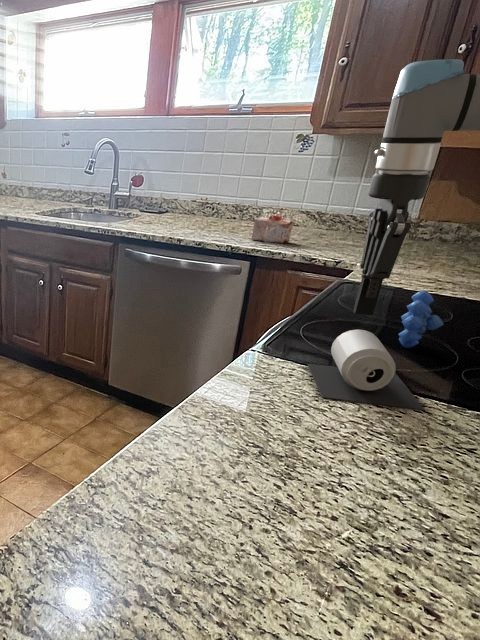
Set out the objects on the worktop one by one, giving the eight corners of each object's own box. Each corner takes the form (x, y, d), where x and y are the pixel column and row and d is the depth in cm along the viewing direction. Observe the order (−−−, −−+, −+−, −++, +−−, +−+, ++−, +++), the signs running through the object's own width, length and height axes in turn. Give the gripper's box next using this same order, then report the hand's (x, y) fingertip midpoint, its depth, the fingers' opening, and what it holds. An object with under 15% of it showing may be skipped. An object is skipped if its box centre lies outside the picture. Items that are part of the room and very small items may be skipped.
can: (356, 373, 96) (372, 403, 86) (320, 351, 97) (332, 377, 87) (389, 343, 92) (411, 370, 82) (352, 319, 93) (368, 343, 83)
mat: (395, 375, 93) (395, 373, 93) (424, 412, 81) (425, 409, 81) (306, 365, 98) (307, 363, 97) (322, 399, 85) (322, 397, 85)
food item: (293, 242, 201) (298, 215, 197) (284, 245, 196) (289, 218, 192) (257, 237, 210) (262, 212, 206) (248, 240, 206) (252, 214, 202)
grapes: (428, 362, 98) (450, 300, 93) (385, 352, 102) (404, 293, 98) (438, 345, 106) (458, 287, 101) (397, 336, 110) (415, 281, 105)
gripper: (363, 169, 90) (330, 301, 99) (386, 175, 79) (347, 323, 88) (415, 169, 88) (376, 304, 97) (447, 175, 76) (399, 327, 86)
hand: (362, 313), depth 93 cm, fingers closed
